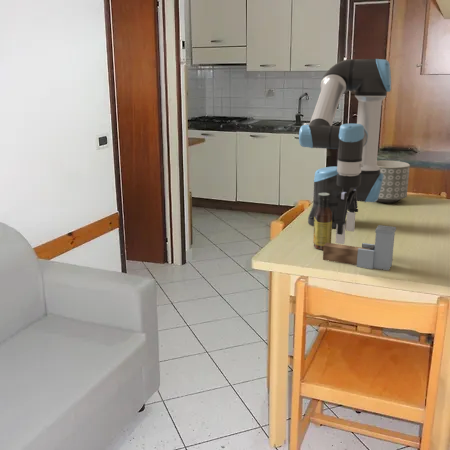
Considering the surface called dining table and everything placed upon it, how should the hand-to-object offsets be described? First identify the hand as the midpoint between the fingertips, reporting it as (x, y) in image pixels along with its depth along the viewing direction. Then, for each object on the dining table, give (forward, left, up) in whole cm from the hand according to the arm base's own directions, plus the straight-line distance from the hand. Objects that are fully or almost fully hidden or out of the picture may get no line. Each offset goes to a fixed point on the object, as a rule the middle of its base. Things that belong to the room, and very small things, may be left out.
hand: (345, 236), depth 175 cm
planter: (-2, +91, -8) cm, 91 cm away
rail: (+2, -1, -8) cm, 8 cm away
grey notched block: (+10, 0, -8) cm, 13 cm away
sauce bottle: (-10, +10, -8) cm, 16 cm away
